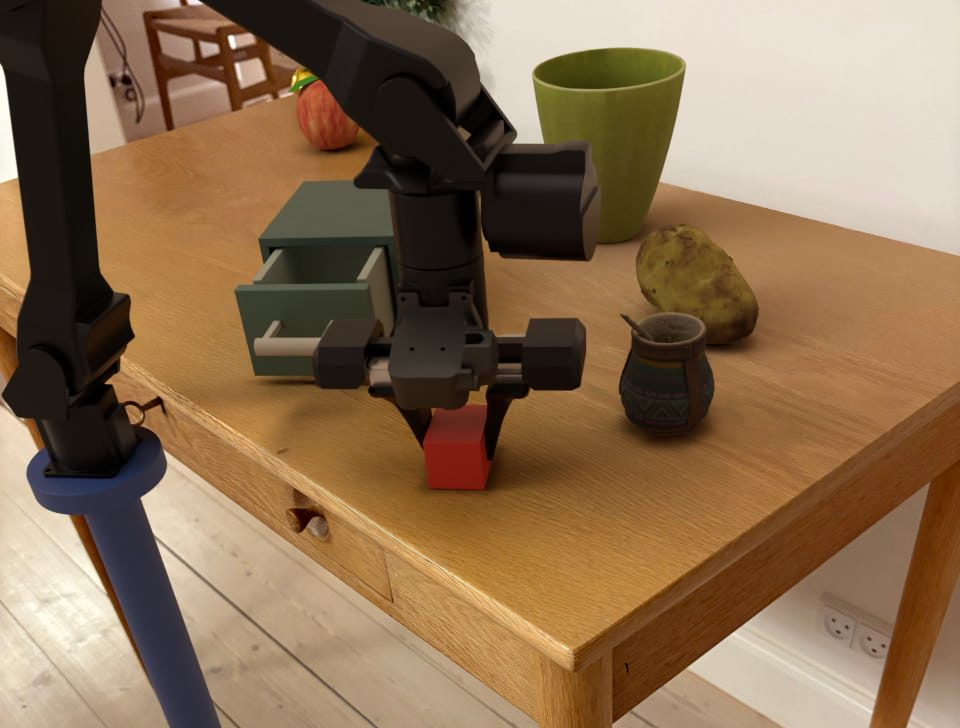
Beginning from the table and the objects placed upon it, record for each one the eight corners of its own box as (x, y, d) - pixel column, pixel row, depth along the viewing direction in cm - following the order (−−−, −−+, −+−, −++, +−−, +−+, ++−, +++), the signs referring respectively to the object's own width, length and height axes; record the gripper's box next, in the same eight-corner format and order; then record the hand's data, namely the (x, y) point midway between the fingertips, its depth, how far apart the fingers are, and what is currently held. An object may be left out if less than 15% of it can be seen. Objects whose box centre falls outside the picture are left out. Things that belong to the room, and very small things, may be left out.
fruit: (308, 138, 146) (294, 59, 139) (375, 135, 145) (364, 55, 138) (294, 159, 140) (278, 76, 133) (363, 155, 138) (351, 72, 132)
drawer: (367, 405, 86) (351, 315, 81) (236, 404, 88) (213, 316, 83) (411, 308, 100) (401, 226, 94) (297, 309, 102) (281, 228, 96)
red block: (484, 490, 77) (480, 443, 75) (428, 488, 78) (422, 442, 75) (494, 450, 81) (491, 404, 79) (442, 449, 82) (436, 403, 79)
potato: (673, 366, 89) (678, 274, 84) (623, 306, 98) (625, 220, 93) (765, 349, 90) (775, 257, 85) (707, 291, 99) (713, 205, 94)
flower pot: (705, 236, 109) (717, 67, 99) (582, 271, 105) (580, 98, 95) (629, 196, 120) (632, 39, 109) (514, 226, 115) (505, 66, 105)
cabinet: (409, 339, 97) (395, 235, 90) (279, 339, 99) (257, 238, 92) (437, 274, 107) (427, 177, 101) (320, 275, 110) (303, 181, 103)
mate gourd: (732, 425, 81) (744, 302, 74) (656, 459, 78) (661, 335, 72) (670, 391, 86) (676, 272, 79) (597, 421, 83) (597, 301, 76)
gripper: (267, 308, 64) (314, 516, 75) (570, 306, 61) (575, 523, 71) (316, 237, 72) (352, 434, 83) (585, 232, 69) (587, 437, 80)
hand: (461, 457), depth 79 cm, fingers closed on red block, 4 cm apart
